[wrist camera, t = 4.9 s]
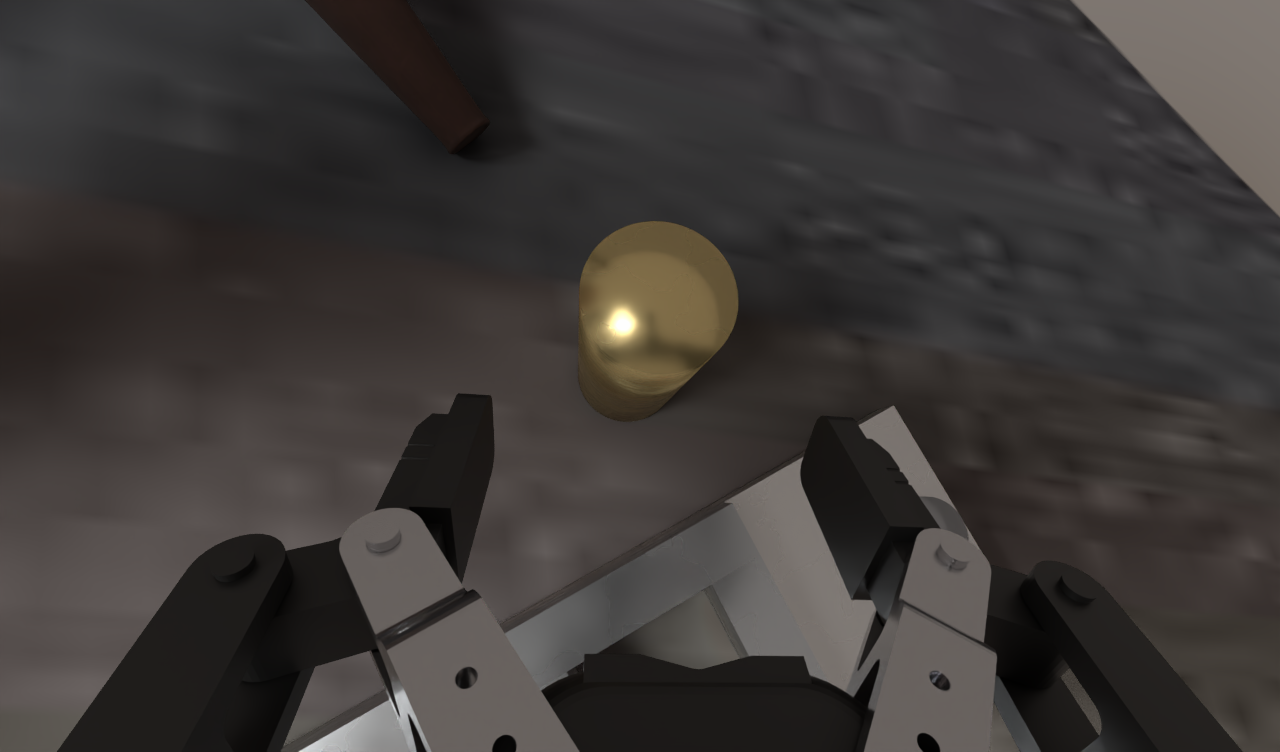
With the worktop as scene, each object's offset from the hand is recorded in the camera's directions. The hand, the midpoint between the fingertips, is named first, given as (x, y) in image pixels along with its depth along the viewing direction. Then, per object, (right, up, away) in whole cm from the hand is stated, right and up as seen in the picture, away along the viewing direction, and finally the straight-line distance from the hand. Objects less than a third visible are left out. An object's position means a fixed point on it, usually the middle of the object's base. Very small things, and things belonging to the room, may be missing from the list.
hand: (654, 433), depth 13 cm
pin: (-1, +2, +9) cm, 9 cm away
